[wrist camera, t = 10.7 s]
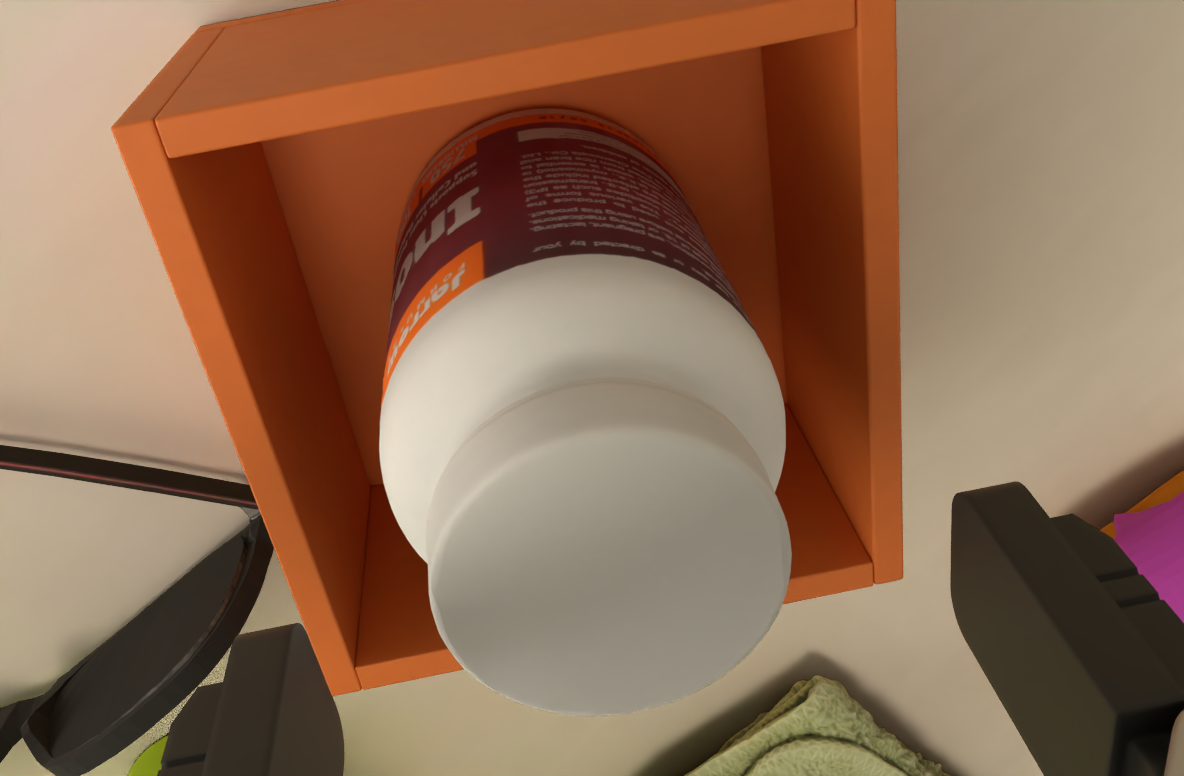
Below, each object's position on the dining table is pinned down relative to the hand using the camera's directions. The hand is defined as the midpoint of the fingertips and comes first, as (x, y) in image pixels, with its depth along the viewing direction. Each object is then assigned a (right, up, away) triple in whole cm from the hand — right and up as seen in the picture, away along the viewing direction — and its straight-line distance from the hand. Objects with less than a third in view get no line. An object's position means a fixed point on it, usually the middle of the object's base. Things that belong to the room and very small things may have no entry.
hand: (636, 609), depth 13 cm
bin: (-2, +6, +10) cm, 12 cm away
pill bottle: (-2, +6, +10) cm, 12 cm away
